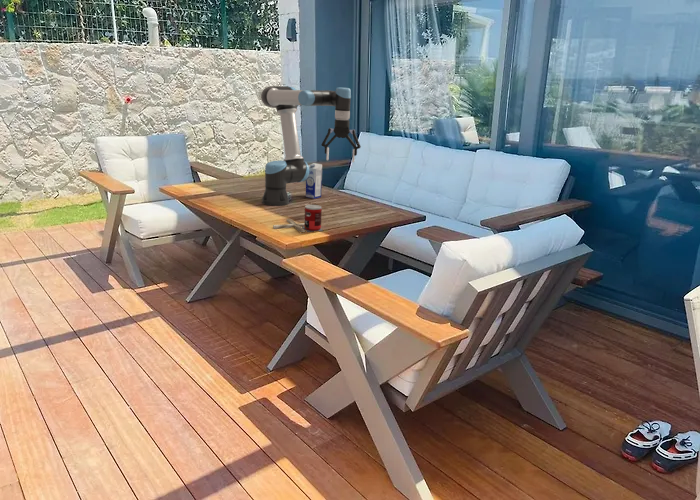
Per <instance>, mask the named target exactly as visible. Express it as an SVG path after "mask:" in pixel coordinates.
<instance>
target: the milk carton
mask: <svg viewBox="0 0 700 500" xmlns="http://www.w3.org/2000/svg"><path fill="white" fill-rule="evenodd" d="M308 166H309V175H308V177H307V179H306V180H305V197H306V198H309V199H314V200H316V199H319V198H322V184H323V183H322V181H323V164H321V163H315V162H313V163H311V164H308Z"/></svg>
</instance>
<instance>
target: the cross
mask: <svg viewBox="0 0 700 500" xmlns="http://www.w3.org/2000/svg"><path fill="white" fill-rule="evenodd" d="M286 222H287V224H274V225H272V228H273V229H274V230H275V229H276V230H277V229H289V228H290V229H292V228H291V227H293V228H294V227H295V228H296V229H295V228H294V229H295V230H296V231H298V232H299V231H300V232H305V233H315V232H314V231H310V230H306V229H305V222H302V223H301V222H300V223H297V222H296V221H294V219H292V218H286ZM305 230H306V231H307V232H306V231H305ZM317 231H319V232H324V230H323V229H322V228H321V229H320V230H317ZM300 232H299V233H300Z"/></svg>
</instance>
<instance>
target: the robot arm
mask: <svg viewBox="0 0 700 500" xmlns="http://www.w3.org/2000/svg"><path fill="white" fill-rule="evenodd" d="M351 93H352V92H351V88H349V87H336V89H335V90H329V89H327V90H326V89H325V90H324V89H323V90H320V89H318V90H315V89H311V90H310V89H296V88H295V87H294V86H288V85H287V86H278V85H276V86H275V85H270V86H267V87H265V88H264V89H263V90H262V91H261V94H260V100H261V102H262V104H263V105H264V106H265V107H268V108H273V109H276V113H278V114H279V116H280V117H279V118H280V123H281V124H280V125H281V132H282V138H283V139H282V140H283V146H284V155H285V157H284V159H283V160H272V161H269V162H267V163H266V164H265V167H264V168H265V170H264V174H265V175H264V181H265V182H264V187H265V188H264V192H263V196H262V198H261V203H262V204H263V205H265V206H272V207H275V206H276V207H277V206H286V205H288V204H289V203H290V198H289V195H288V192H287V184H295V183H302V182H306V179H307V177H308V175H309V164H308V162H307V161H306V160H305V158H304V157H303V156H302V155H301V148H300V142H299V141H300V140H299V134H298V125H297V118H296V112H297V111H298V107H299V106H303V107H312V106H313V107H315V106H316V107H317V106H318V107H320V106H321V107H323V106H326V107H327V106H328V107H329V106H330V107H335V109H334V127H333V128H330V127H328V130H327V133H326V135H325V136H324V139H323V140H322V143H321V145H320V146H322V147H324V154H326V161H329V157H330V154H329V153H330V147H329V146H330V144H331V143H332V142H334V140H335V139H336V138H339V139H340V138H342V139H346V140H347V141H348V142H349V144H350V145H351V146H352V147H353V149H352V161H351V162H352V163H354V162H355V158H356V157H355V156H357V155H358V149H361V147H362V146H361V144H360V141H359V139H358V137H357V135H356V134H357V133H356V129H350V118H351V98H352V95H351ZM331 133H334V135H333V136H332V137H331V139H329V137H330V135H331ZM350 134H351V135H352V137H353V139H354V141H353V140H352V139H351V137H350ZM328 139H329V141H328ZM326 142H327V143H326ZM354 142H355V143H354Z"/></svg>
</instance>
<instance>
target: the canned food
mask: <svg viewBox="0 0 700 500" xmlns="http://www.w3.org/2000/svg"><path fill="white" fill-rule="evenodd" d="M322 210H323V209H322V205H319V204H306V205H305V206H304V223H305V229H306V230H310V231H317V230H320V229H322Z"/></svg>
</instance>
